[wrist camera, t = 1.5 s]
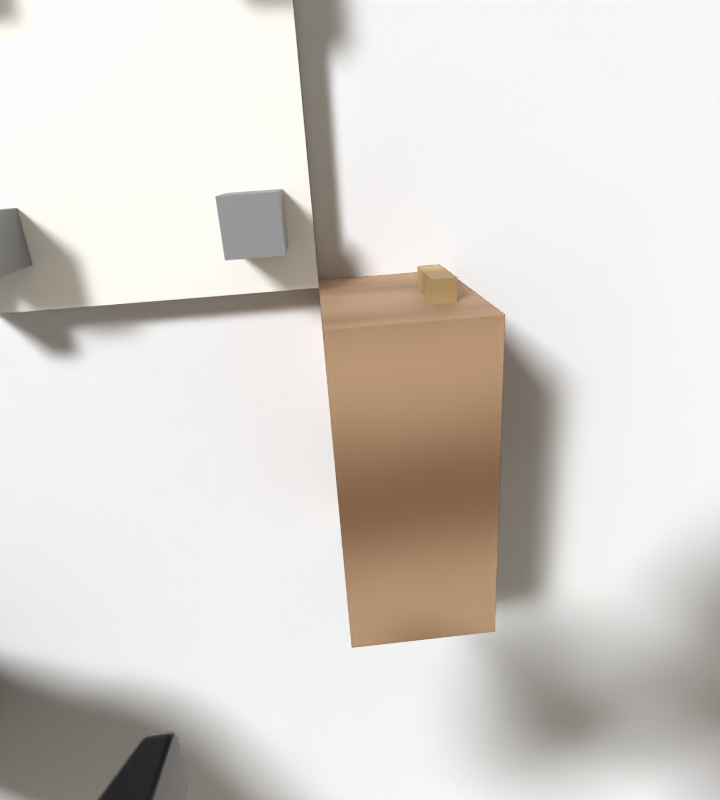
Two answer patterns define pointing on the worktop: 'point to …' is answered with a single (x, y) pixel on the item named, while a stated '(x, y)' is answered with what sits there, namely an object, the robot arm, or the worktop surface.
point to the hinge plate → (150, 152)
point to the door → (415, 451)
